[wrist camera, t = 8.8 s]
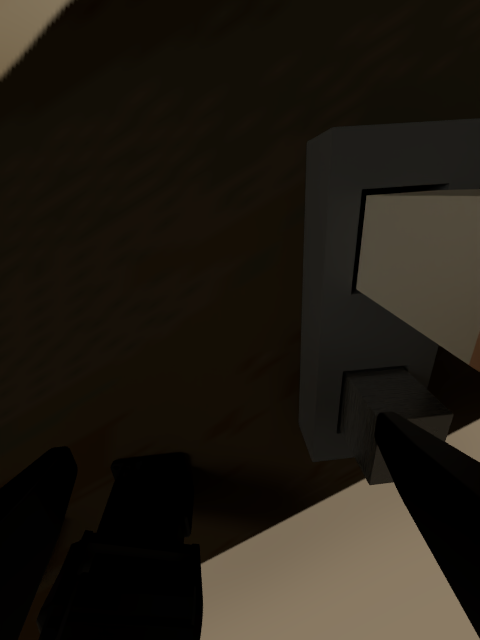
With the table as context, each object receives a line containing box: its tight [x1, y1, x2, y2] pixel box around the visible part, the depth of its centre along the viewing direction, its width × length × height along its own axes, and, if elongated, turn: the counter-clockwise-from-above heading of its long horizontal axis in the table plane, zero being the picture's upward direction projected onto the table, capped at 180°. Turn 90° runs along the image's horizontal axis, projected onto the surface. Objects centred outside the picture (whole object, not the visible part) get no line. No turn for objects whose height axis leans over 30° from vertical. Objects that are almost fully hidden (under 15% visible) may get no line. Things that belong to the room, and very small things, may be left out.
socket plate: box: [299, 118, 480, 462], centre depth 19 cm, size 8×22×4 cm, turn 4°
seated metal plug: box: [337, 366, 454, 485], centre depth 20 cm, size 4×5×8 cm
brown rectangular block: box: [356, 189, 480, 372], centre depth 11 cm, size 4×5×9 cm
